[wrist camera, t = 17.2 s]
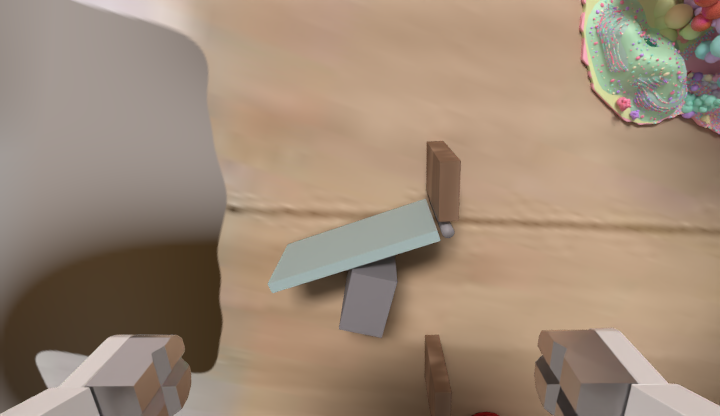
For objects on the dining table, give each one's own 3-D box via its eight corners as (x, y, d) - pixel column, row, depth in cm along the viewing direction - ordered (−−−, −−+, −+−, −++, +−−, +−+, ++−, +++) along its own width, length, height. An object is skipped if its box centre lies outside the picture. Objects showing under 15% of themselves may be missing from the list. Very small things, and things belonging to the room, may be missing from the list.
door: (440, 203, 40) (455, 235, 32) (291, 252, 42) (272, 293, 35) (437, 194, 39) (452, 225, 32) (287, 244, 42) (267, 284, 34)
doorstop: (393, 238, 42) (397, 282, 33) (380, 285, 44) (381, 337, 36) (357, 231, 42) (351, 272, 33) (346, 278, 44) (338, 329, 35)
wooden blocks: (443, 141, 38) (460, 161, 30) (437, 375, 48) (449, 437, 40) (426, 141, 38) (439, 161, 30) (424, 375, 48) (434, 437, 40)
